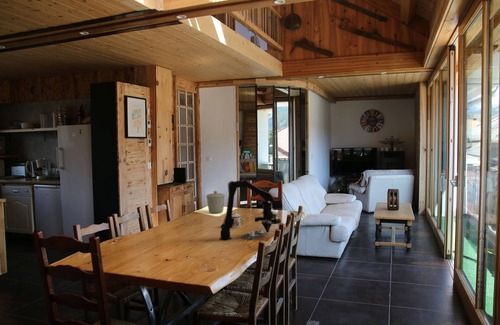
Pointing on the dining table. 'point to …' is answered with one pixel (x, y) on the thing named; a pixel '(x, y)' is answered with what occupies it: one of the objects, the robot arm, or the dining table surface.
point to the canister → (215, 202)
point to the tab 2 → (260, 231)
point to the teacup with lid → (237, 220)
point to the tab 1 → (252, 233)
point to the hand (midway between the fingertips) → (267, 232)
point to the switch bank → (257, 235)
